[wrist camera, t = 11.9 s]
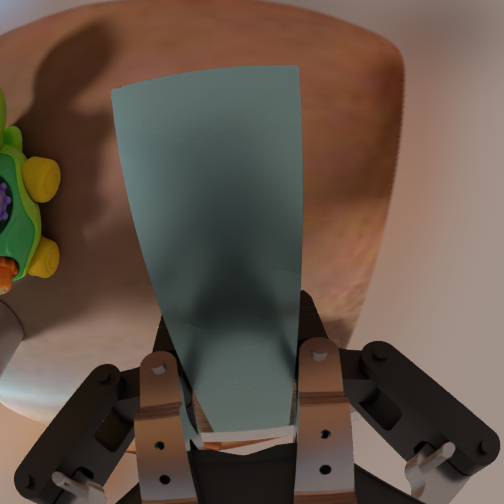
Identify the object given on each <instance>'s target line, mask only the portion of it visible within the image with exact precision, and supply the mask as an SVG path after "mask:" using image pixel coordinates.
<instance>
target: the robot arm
mask: <svg viewBox="0 0 504 504" xmlns="http://www.w3.org/2000/svg"><path fill="white" fill-rule="evenodd" d="M23 337H24V333H23V329H22V326H21V324H20V322H19V321H18V319H17V318H16V316H15V315H14V313H13V312H12V311H11V310H10V309H9V308H8V307H7V306H6V305H5V304H4V303H3V302H1V301H0V377H1V376H2V374H3V372H4V370H5V368H6V366H7V364H8V363H9V361H10V359H11V357H12V356H13V354H14V352H15V351H16V349H17V347H18V346H19V344H20V342H21V341H22V339H23ZM294 379H295V383H296V399H295V421H294V437H293V443H288V444H281V445H276V446H273V447H270V448H267V449H264V450H261V451H258V452H255V453H252V454H249V455H236V454H230V453H224V452H219V451H214V450H206V449H205V446H204V443H203V441H202V438H201V434H200V429H199V424H198V420H197V415H196V410H195V405H194V400H193V398H192V395H193V389H192V387H191V384H190V382H189V380H188V378H187V376H186V373H185V371H184V369H183V366H182V364H181V362H180V359H179V357H178V354H177V352H176V350H175V347H174V345H173V342H172V340H171V337H170V334H169V332H168V329H167V327H166V324H165V321H164V319H163V316H161V321H160V324H159V328H158V331H157V335H156V339H155V343H154V347H153V351H152V353H151V354H149V355H147V356H146V357H145V358H144V359H143V360H142V362H141V364H140V367H137V368H134V369H130V370H126V371H122V372H120V371H119V369H118V368H117V367H116V366H114V365H111V364H104V365H100V366H98V367H96V368H95V369H94V370H93V371H92V372H91V373H90V374H89V376H88V377H87V378H86V379H85V380H84V382H83V383H82V384H81V385H80V387H79V388H78V389H77V390H76V391H75V393H74V394H73V395H72V396H71V398H70V399H69V400H68V401H67V403H66V404H65V405H64V406H63V408H62V409H61V410H60V412H59V413H58V414H57V415H56V417H55V418H54V419H53V421H52V422H51V423H50V424H49V426H48V427H47V428H46V430H45V431H44V432H43V434H42V435H41V436H40V438H39V439H38V440H37V442H36V443H35V444H34V446H33V447H32V449H31V450H30V451H29V453H28V454H27V455H26V457H25V458H24V460H23V461H22V463H21V464H20V465H19V467H18V468H17V470H16V472H15V475H14V483H15V487H16V489H17V491H18V492H19V493H20V495H22V496H23V497H24V498H26V499H29V500H30V501H33V502H35V503H37V504H106V502H107V499H106V497H105V492H104V490H103V488H102V487H103V486H104V484H105V483H106V481H107V480H108V478H109V476H110V475H111V473H112V472H113V470H114V469H115V467H116V465H117V464H118V462H119V461H120V459H121V458H122V456H123V455H124V453H125V451H126V450H127V448H128V447H129V445H130V444H131V442H132V440H133V439H134V437H135V446H136V458H137V468H138V477H139V482H138V483H137V484H136V485H135V486H134V487H133V488H132V489H131V490H130V491H129V492H128V493H127V494H126V495H124V496H123V497H122V498H121V499H120V500H119V501H118V502H117V503H116V504H449V503H450V502H451V500H452V499H453V498H454V497H455V496H456V494H457V493H458V492H459V491H460V490H461V489H462V487H463V486H464V485H465V484H466V482H467V481H468V480H469V478H470V477H471V476H472V475H473V474H475V473H477V472H478V471H480V470H481V469H483V468H485V467H486V466H488V465H489V464H491V463H492V462H493V461H494V460H495V459H496V458H497V456H498V454H499V451H500V440H499V437H498V435H497V434H496V433H495V432H494V431H493V430H492V429H491V428H490V427H489V426H487V425H486V424H485V423H484V422H483V421H481V420H480V419H479V418H478V417H477V416H476V415H474V414H473V413H472V412H471V411H470V410H469V409H467V408H466V407H465V406H464V405H463V404H462V403H460V402H459V401H458V400H457V399H456V398H454V397H453V396H452V395H451V394H450V393H449V392H447V391H446V390H445V389H444V388H443V387H442V386H440V385H439V384H438V383H437V382H436V381H434V380H433V379H432V378H431V377H429V376H428V375H427V374H426V373H424V371H422V370H421V369H420V368H419V367H417V366H416V365H415V364H414V363H413V362H411V361H410V360H409V359H408V358H407V357H405V356H404V355H403V354H402V353H400V352H399V351H398V350H397V349H395V348H394V347H393V346H392V345H390V344H388V343H386V342H383V341H373V342H370V343H368V344H367V345H365V346H364V348H363V350H362V351H359V350H346V349H342V348H339V347H337V345H336V344H335V343H334V342H333V341H331V340H330V339H328V337H327V334H326V332H325V329H324V327H323V324H322V322H321V319H320V317H319V314H318V313H317V310H316V307H315V305H314V302H313V300H312V297H311V296H310V295H309V294H307V293H306V292H305V291H304V290H301V291H300V308H299V324H298V338H297V351H296V363H295V374H294ZM349 403H350V404H351V405H352V406H353V407H354V409H355V410H356V411H357V412H358V413H359V414H360V415H361V416H362V417H363V418H364V419H365V420H366V421H367V422H368V423H369V424H370V425H371V426H372V427H373V428H374V429H375V430H376V431H377V432H378V433H379V434H380V435H381V436H382V437H383V438H384V439H385V440H386V442H388V443H389V445H391V446H392V447H393V449H394V450H395V451H396V452H398V453H399V454H400V456H402V458H403V459H405V460H406V461H407V464H406V466H405V476H406V479H407V480H408V481H409V483H410V485H411V496H410V495H408V494H406V493H404V492H403V491H401V490H399V489H397V488H395V487H393V486H391V485H390V484H388V483H386V482H385V481H383V480H381V479H379V478H378V477H376V476H374V475H373V474H371V473H369V472H368V471H366V470H365V469H363V468H361V467H360V466H358V465H356V464H355V463H354V459H353V441H352V426H351V414H350V404H349ZM107 414H108V415H107ZM104 418H105V419H104ZM102 421H103V422H102ZM97 428H98V429H97Z"/></svg>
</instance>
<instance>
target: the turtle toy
mask: <svg viewBox="0 0 504 504" xmlns="http://www.w3.org/2000/svg"><path fill="white" fill-rule="evenodd" d="M6 113H7V112H6V101H5V98H4V95H3V92H2V90H1V88H0V295H2V294H5V293H7V292H9V291H10V290H11V288H12V282H13V281H16V280H18V279H20V278H22V277H24V276H25V275H26V273H28V274H30V275H32V276H39V277H42V278H48V277H50V276H51V275H53V274H54V272H55V271H56V269H57V267H58V263H59V258H60V252H59V248H58V246H57V244H56V243H55V242H54V241H52V240H50V239H47V238H45V237H43V236H41V216H40V210H39V205H38V203H37V202H41V203H45V202H48V201H49V200H51V199H52V198H53V196H54V195H55V194H56V192H57V190H58V187H59V184H60V176H61V174H60V169H59V166H58V164H57V163H56V162H55V161H54V160H51V159H47V158H41V157H31V158H30V159H27V158H26V156H25V155H24V154H23V153H22V134H21V131H20V130H19V128H17V127H15V126H9V127H6V128H5V124H6Z"/></svg>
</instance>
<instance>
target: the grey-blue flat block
mask: <svg viewBox="0 0 504 504" xmlns="http://www.w3.org/2000/svg"><path fill="white" fill-rule="evenodd" d="M111 97H112V106H113V115H114V123H115V130H116V137H117V143H118V150H119V155H120V161H121V166H122V172H123V177H124V182H125V187H126V191H127V196H128V200H129V205H130V209H131V213H132V217H133V221H134V225H135V229H136V233H137V237H138V240H139V244H140V247H141V251H142V254H143V258H144V261H145V265H146V268H147V271H148V274H149V278H150V281H151V284H152V287H153V290H154V293H155V296H156V299H157V302H158V305H159V307H160V310H161V313H162V316H163V319H164V321H165V324H166V327H167V329H168V332H169V334H170V337H171V340H172V342H173V345H174V347H175V350H176V352H177V354H178V357H179V359H180V362H181V364H182V366H183V369H184V371H185V373H186V376H187V378H188V380H189V382H190V384H191V387H192V389H193V395H192V398H193V400H194V405H195V410H196V415H197V420H198V424H199V429H200V434H201V438H202V441H203V442H226V441H244V440H256V439H265V438H274V437H281V436H288V435H294V421H295V399H296V383H295V379H294V374H295V363H296V351H297V338H298V324H299V308H300V289H301V265H302V229H303V155H302V121H301V98H300V81H299V66H298V65H259V66H239V67H227V68H217V69H208V70H200V71H193V72H187V73H181V74H175V75H169V76H164V77H160V78H155V79H150V80H146V81H142V82H138V83H134V84H130V85H126V86H123V87H119V88H116V89H113V90H111ZM330 340H331V341H333V342H334V343H335V344H336V345H337V347H339V348H342V345H341V343H340V340H339V338H334V339H330ZM342 349H343V348H342ZM349 404H350V403H349ZM350 414H351V422H354V421H358V420H360V418H361V415H360V414H359V413H358V412H357V411H356V410H355V409H354V407H353V406H352V405H351V404H350Z"/></svg>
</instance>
